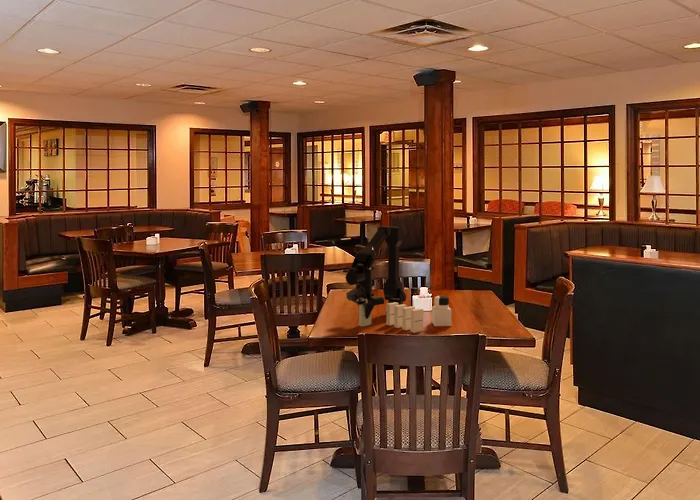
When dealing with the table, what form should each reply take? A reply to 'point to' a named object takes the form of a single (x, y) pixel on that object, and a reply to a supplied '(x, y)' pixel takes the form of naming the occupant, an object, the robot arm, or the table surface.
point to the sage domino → (363, 316)
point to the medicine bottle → (441, 311)
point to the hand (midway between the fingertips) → (365, 318)
